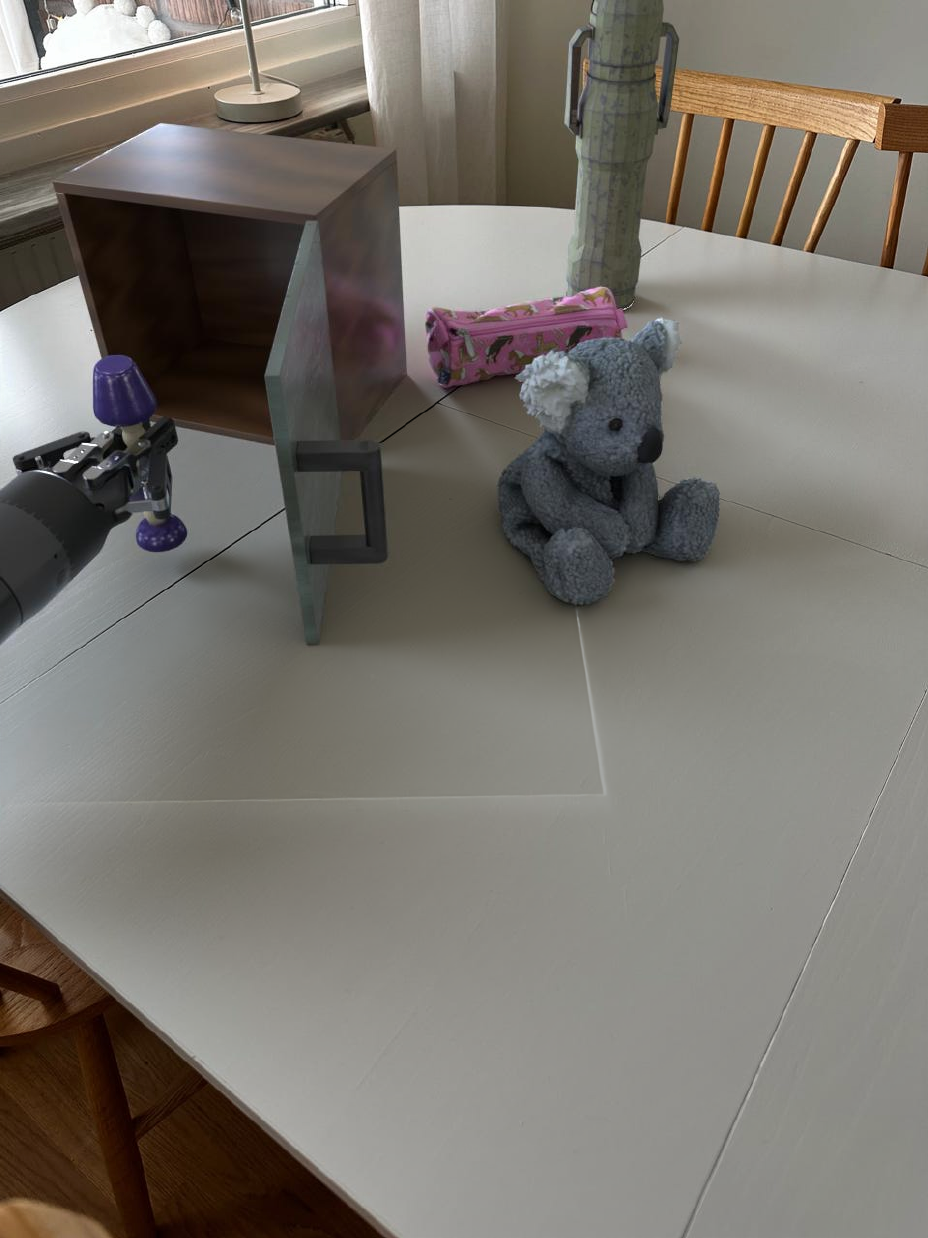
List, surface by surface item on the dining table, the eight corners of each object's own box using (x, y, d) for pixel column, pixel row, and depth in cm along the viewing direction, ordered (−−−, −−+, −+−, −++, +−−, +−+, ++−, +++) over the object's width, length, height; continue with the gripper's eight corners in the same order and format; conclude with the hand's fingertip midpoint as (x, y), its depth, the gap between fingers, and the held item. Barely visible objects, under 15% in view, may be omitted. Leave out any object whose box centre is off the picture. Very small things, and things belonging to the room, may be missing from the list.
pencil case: (441, 406, 105) (439, 328, 99) (421, 365, 112) (418, 290, 106) (627, 379, 109) (636, 303, 103) (597, 342, 116) (604, 268, 110)
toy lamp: (185, 554, 82) (144, 376, 70) (128, 559, 81) (77, 380, 70) (188, 519, 85) (149, 344, 74) (133, 523, 85) (85, 347, 73)
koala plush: (568, 626, 79) (588, 415, 66) (452, 514, 91) (449, 314, 77) (726, 554, 86) (773, 350, 73) (600, 459, 97) (621, 266, 84)
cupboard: (341, 459, 97) (315, 215, 81) (117, 415, 104) (51, 180, 87) (407, 375, 110) (396, 148, 94) (203, 340, 116) (160, 122, 100)
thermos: (543, 290, 126) (560, -32, 102) (627, 279, 128) (663, -38, 105) (568, 320, 120) (593, -16, 96) (657, 307, 122) (701, -23, 99)
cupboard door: (401, 461, 97) (388, 219, 81) (391, 644, 78) (371, 374, 62) (332, 462, 97) (305, 220, 81) (306, 645, 78) (264, 375, 62)
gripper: (91, 527, 62) (226, 397, 75) (-83, 486, 66) (74, 368, 78) (119, 614, 68) (241, 479, 80) (-44, 572, 71) (97, 448, 83)
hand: (158, 424), depth 79 cm, fingers closed on toy lamp
